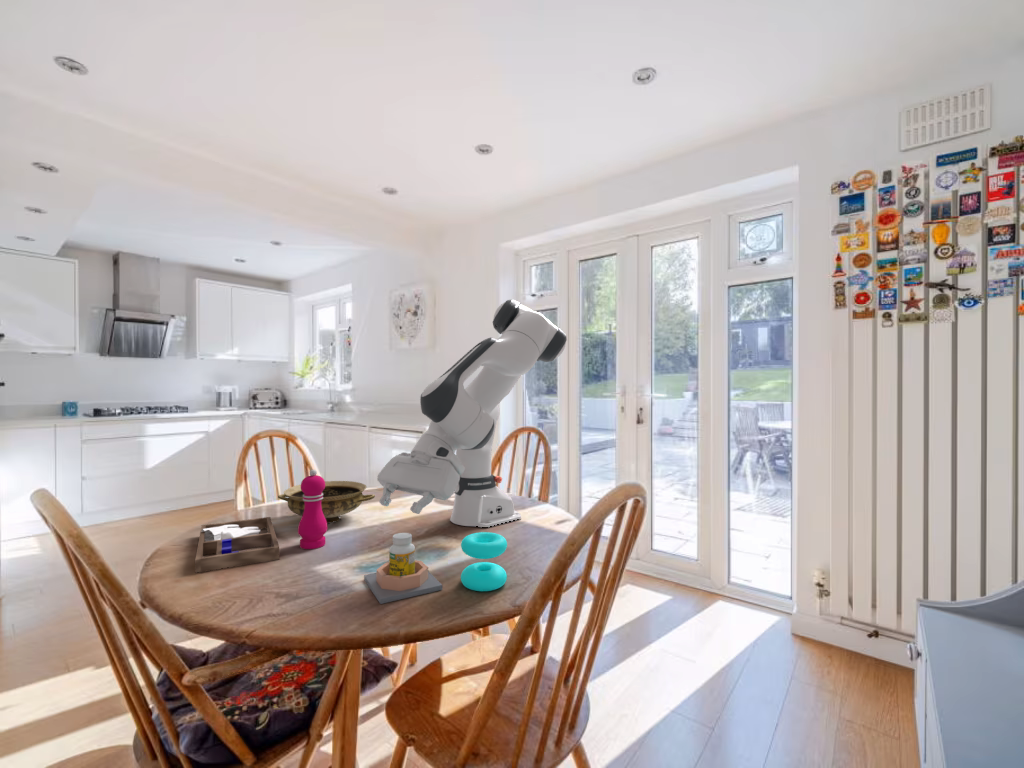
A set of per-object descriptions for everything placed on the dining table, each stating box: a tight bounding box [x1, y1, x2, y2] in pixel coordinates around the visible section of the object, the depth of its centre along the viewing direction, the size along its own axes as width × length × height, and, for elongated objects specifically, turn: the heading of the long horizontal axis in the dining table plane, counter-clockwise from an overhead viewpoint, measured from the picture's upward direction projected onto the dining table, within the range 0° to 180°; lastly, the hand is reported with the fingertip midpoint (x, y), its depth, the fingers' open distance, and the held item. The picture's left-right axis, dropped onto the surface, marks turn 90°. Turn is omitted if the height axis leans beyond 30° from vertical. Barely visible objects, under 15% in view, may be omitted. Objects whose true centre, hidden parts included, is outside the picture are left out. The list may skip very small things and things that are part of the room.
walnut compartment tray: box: [194, 516, 280, 574], centre depth 124 cm, size 17×29×3 cm, turn 31°
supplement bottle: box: [388, 532, 416, 577], centre depth 102 cm, size 5×5×10 cm
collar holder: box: [363, 559, 443, 605], centre depth 102 cm, size 13×13×4 cm
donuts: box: [460, 531, 508, 592], centre depth 103 cm, size 10×10×10 cm
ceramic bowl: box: [277, 480, 376, 524], centre depth 148 cm, size 30×24×10 cm
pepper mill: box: [297, 469, 328, 550], centre depth 125 cm, size 7×7×20 cm
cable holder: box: [222, 539, 240, 554], centre depth 116 cm, size 8×4×4 cm, turn 31°
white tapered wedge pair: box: [200, 525, 261, 542], centre depth 128 cm, size 12×4×11 cm
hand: (398, 508), depth 102 cm, fingers open, 8 cm apart
